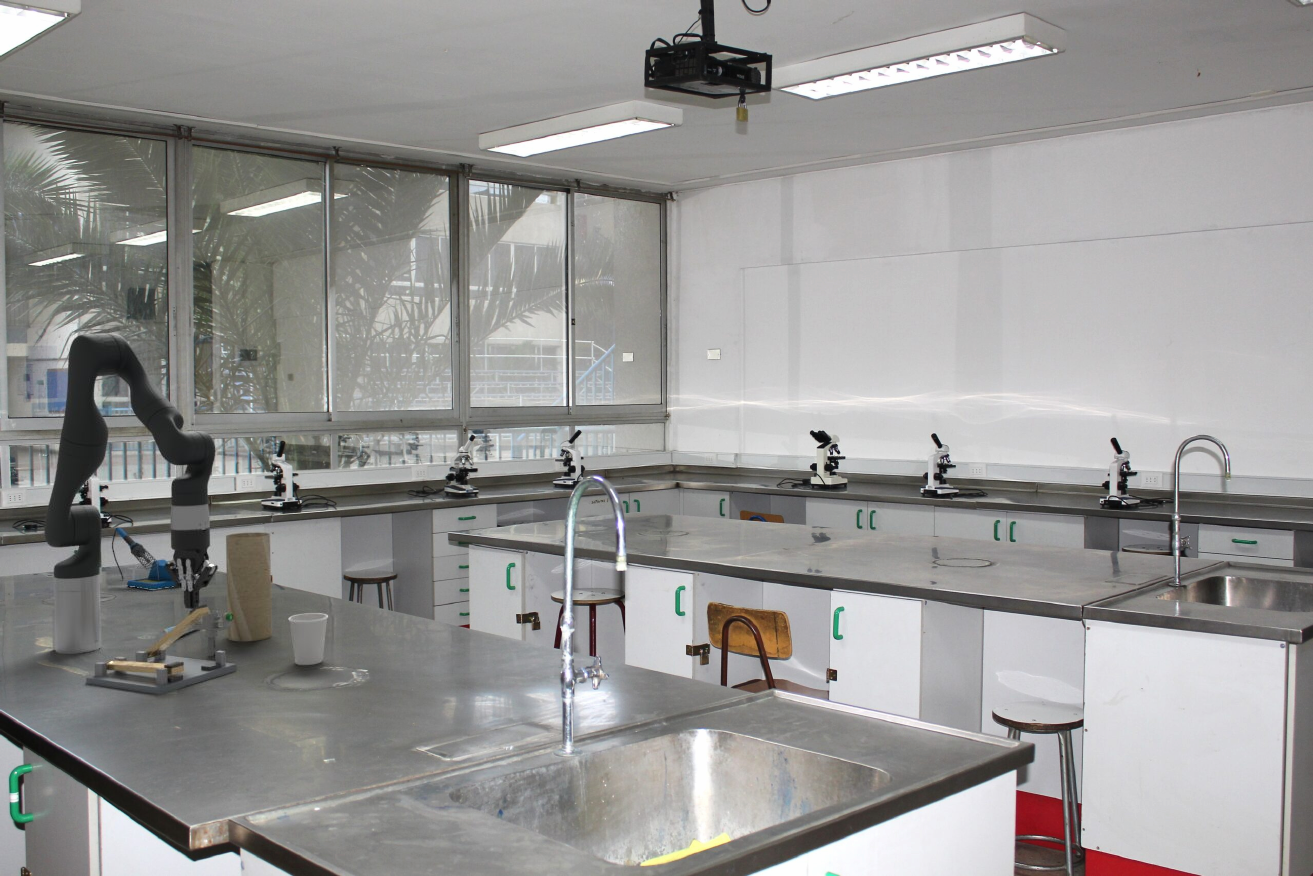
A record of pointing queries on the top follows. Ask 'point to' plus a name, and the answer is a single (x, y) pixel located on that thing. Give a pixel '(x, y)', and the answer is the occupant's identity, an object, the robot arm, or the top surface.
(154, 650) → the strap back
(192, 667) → the mount plate
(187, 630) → the 3d printing pen
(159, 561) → the soldering iron
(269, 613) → the tube
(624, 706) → the top surface
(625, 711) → the top surface
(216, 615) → the mechanical component
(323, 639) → the dixie cup
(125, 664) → the strap front
